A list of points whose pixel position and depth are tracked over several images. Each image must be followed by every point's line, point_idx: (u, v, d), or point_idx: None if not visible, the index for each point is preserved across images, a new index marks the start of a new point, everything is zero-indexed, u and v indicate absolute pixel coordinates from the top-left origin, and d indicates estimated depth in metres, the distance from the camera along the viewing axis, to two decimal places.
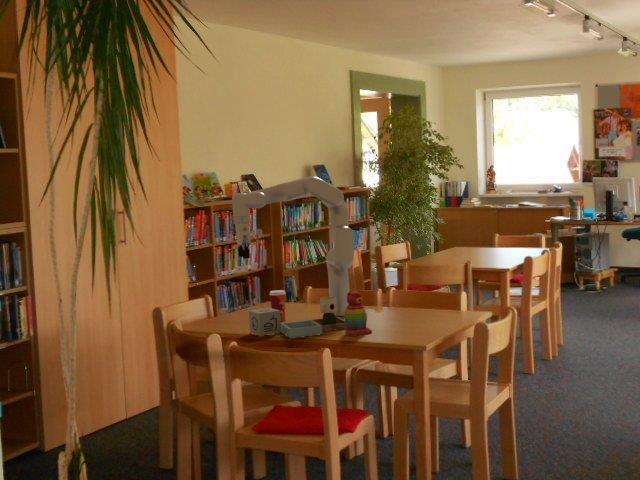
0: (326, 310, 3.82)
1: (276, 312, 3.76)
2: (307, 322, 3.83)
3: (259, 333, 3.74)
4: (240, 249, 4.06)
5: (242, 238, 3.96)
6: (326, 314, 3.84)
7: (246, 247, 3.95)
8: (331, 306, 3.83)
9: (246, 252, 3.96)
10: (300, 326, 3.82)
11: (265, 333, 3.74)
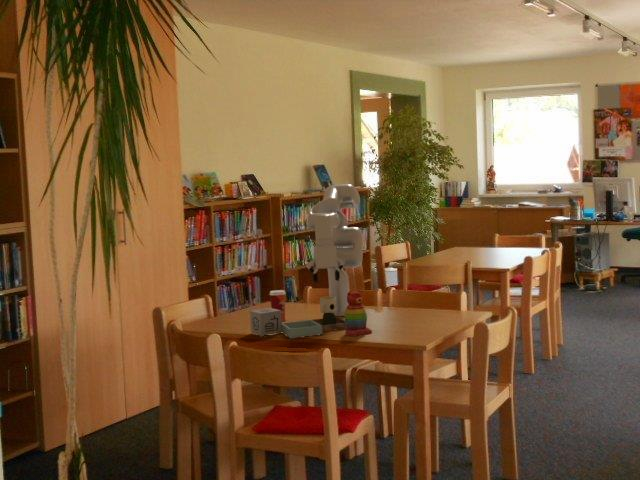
0: (326, 310, 3.82)
1: (277, 312, 3.76)
2: (307, 322, 3.83)
3: (260, 333, 3.74)
4: None
5: (337, 259, 3.84)
6: (326, 314, 3.84)
7: None
8: (331, 306, 3.83)
9: None
10: (300, 326, 3.82)
11: (266, 333, 3.74)
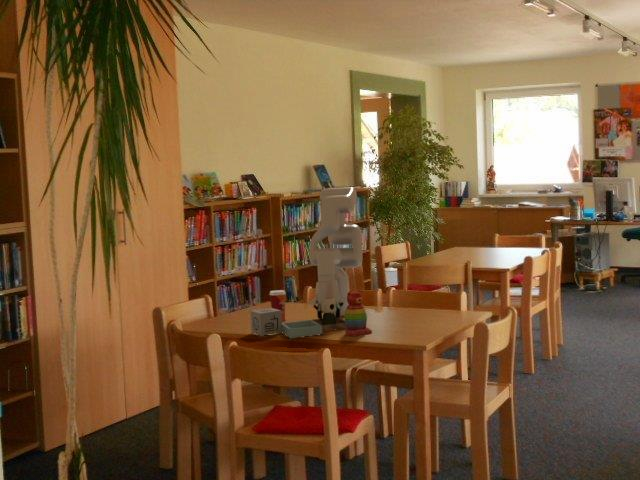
0: (326, 310, 3.82)
1: (277, 312, 3.76)
2: (307, 322, 3.83)
3: (260, 333, 3.74)
4: None
5: (339, 297, 3.86)
6: (326, 314, 3.84)
7: None
8: (331, 306, 3.83)
9: None
10: (300, 326, 3.82)
11: (266, 333, 3.74)
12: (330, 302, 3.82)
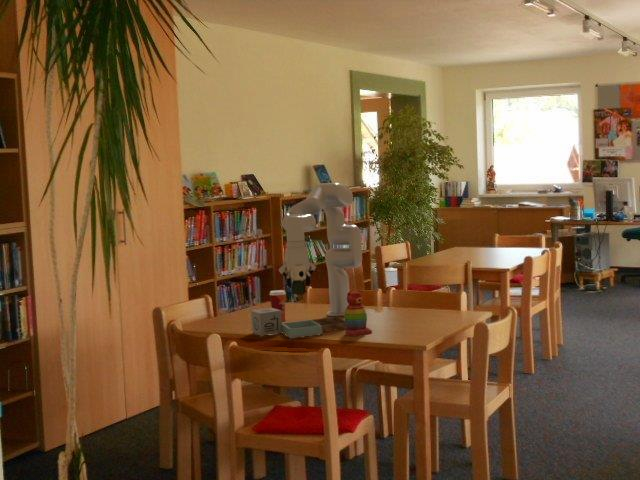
0: (295, 277, 3.69)
1: (277, 312, 3.76)
2: (307, 322, 3.83)
3: (260, 333, 3.74)
4: None
5: (309, 264, 3.72)
6: (295, 282, 3.71)
7: None
8: (301, 273, 3.70)
9: None
10: (300, 326, 3.82)
11: (266, 333, 3.74)
12: (299, 269, 3.69)
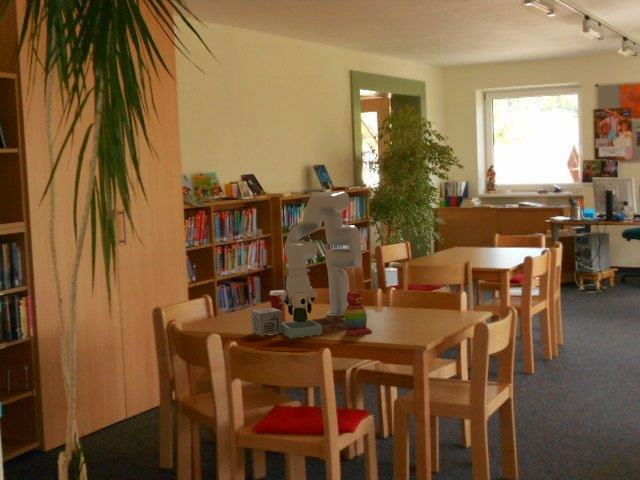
0: (297, 305, 3.70)
1: (277, 312, 3.76)
2: (307, 322, 3.83)
3: (260, 333, 3.74)
4: (291, 306, 3.72)
5: (311, 291, 3.73)
6: (297, 309, 3.72)
7: None
8: (302, 300, 3.71)
9: None
10: (300, 326, 3.82)
11: (266, 333, 3.74)
12: (301, 297, 3.70)
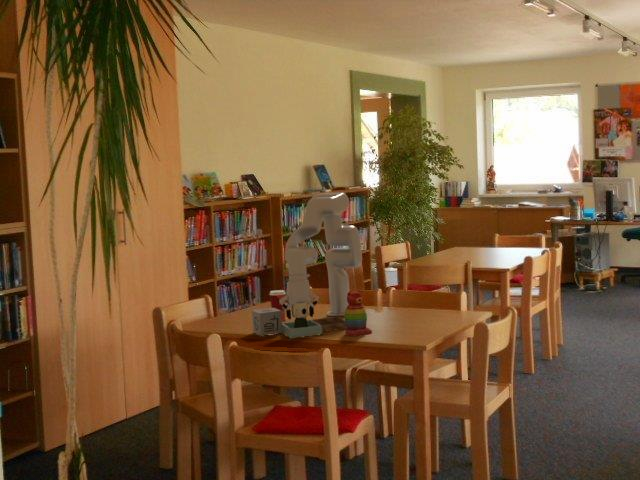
0: (298, 315, 3.71)
1: (277, 312, 3.76)
2: (307, 322, 3.83)
3: (260, 333, 3.74)
4: None
5: (311, 295, 3.74)
6: (298, 319, 3.72)
7: None
8: (303, 310, 3.71)
9: None
10: None
11: (266, 333, 3.74)
12: (302, 306, 3.71)
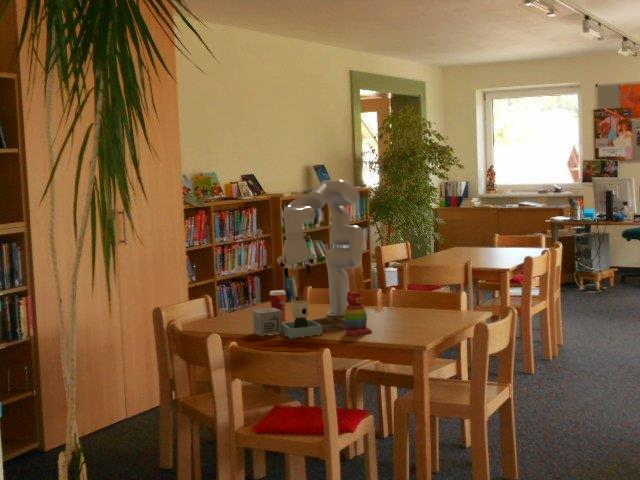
0: (298, 315, 3.71)
1: (277, 312, 3.76)
2: (307, 322, 3.83)
3: (259, 333, 3.74)
4: None
5: (307, 253, 3.81)
6: (298, 319, 3.72)
7: None
8: (303, 310, 3.71)
9: None
10: None
11: (265, 333, 3.74)
12: (302, 307, 3.71)
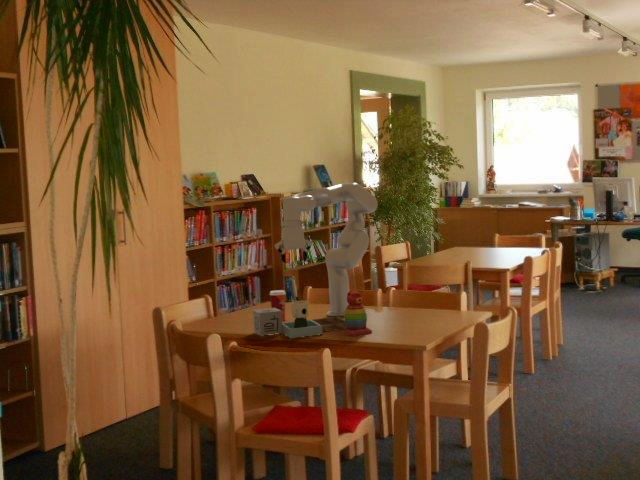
0: (298, 315, 3.71)
1: (277, 312, 3.75)
2: (307, 322, 3.83)
3: (259, 333, 3.74)
4: (284, 255, 3.95)
5: (304, 240, 3.96)
6: (298, 319, 3.72)
7: None
8: (303, 310, 3.71)
9: None
10: None
11: (265, 333, 3.74)
12: (302, 307, 3.71)
